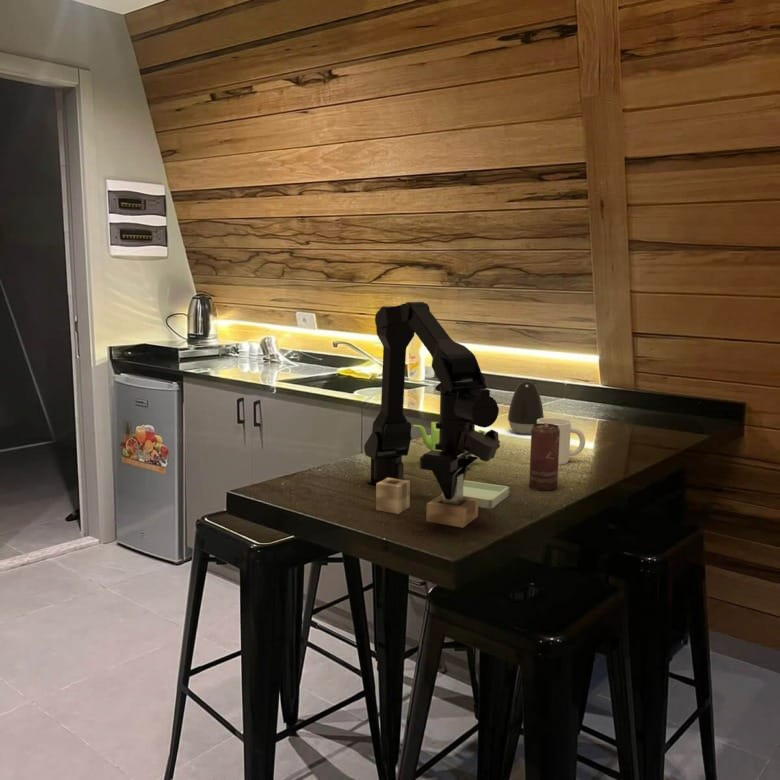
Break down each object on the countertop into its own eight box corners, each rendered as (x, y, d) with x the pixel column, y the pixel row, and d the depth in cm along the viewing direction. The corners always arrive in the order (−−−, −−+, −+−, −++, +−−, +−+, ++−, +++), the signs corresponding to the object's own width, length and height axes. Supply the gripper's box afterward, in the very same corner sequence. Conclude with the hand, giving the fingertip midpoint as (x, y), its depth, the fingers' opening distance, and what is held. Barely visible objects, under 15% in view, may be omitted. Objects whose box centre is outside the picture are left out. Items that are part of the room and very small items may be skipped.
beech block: (376, 510, 160) (376, 483, 159) (387, 503, 164) (387, 477, 163) (398, 513, 157) (398, 487, 156) (409, 507, 162) (409, 480, 161)
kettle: (454, 476, 185) (455, 429, 183) (408, 465, 194) (408, 420, 192) (491, 464, 196) (493, 419, 194) (446, 454, 205) (447, 411, 203)
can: (553, 483, 180) (555, 422, 178) (560, 491, 174) (563, 428, 171) (526, 482, 180) (528, 422, 178) (532, 491, 174) (535, 428, 171)
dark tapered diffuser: (548, 431, 233) (551, 380, 231) (534, 438, 225) (536, 384, 222) (516, 427, 239) (518, 377, 236) (501, 433, 230) (503, 381, 228)
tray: (441, 500, 166) (441, 492, 166) (461, 487, 176) (462, 479, 175) (491, 509, 161) (491, 500, 161) (509, 495, 171) (509, 486, 170)
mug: (582, 458, 202) (584, 418, 201) (585, 467, 194) (587, 425, 193) (534, 456, 204) (536, 416, 202) (535, 464, 196) (537, 423, 194)
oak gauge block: (426, 521, 153) (426, 503, 152) (442, 510, 160) (442, 493, 159) (463, 527, 150) (463, 509, 149) (477, 516, 156) (478, 499, 156)
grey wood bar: (442, 520, 154) (442, 475, 153) (448, 515, 157) (449, 471, 155) (456, 522, 153) (457, 477, 151) (462, 518, 155) (463, 473, 154)
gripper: (476, 431, 140) (473, 516, 142) (511, 413, 156) (508, 490, 158) (419, 424, 145) (417, 507, 147) (458, 407, 161) (456, 482, 164)
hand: (452, 496), depth 154 cm, fingers open, 4 cm apart
